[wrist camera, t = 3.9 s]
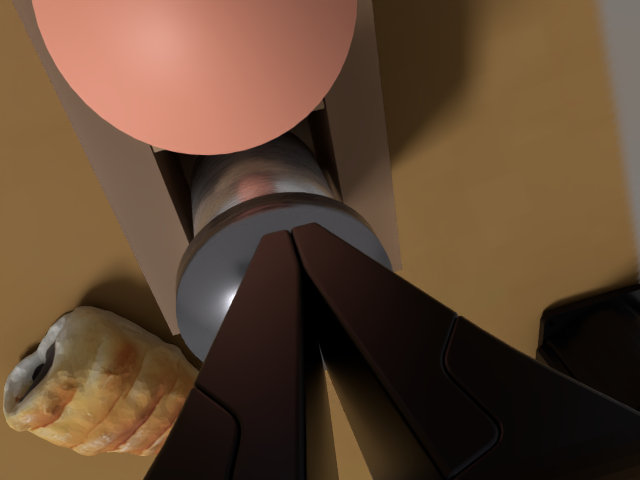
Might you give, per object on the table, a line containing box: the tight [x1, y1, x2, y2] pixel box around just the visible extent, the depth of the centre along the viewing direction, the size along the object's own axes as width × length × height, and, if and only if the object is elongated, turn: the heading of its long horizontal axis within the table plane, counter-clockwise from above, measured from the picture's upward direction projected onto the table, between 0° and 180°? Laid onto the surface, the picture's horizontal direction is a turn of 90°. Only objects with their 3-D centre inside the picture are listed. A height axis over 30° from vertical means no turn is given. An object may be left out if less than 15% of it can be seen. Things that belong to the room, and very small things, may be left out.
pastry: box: [3, 306, 199, 456], centre depth 25 cm, size 9×7×4 cm
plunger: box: [176, 131, 393, 370], centre depth 15 cm, size 5×5×6 cm
